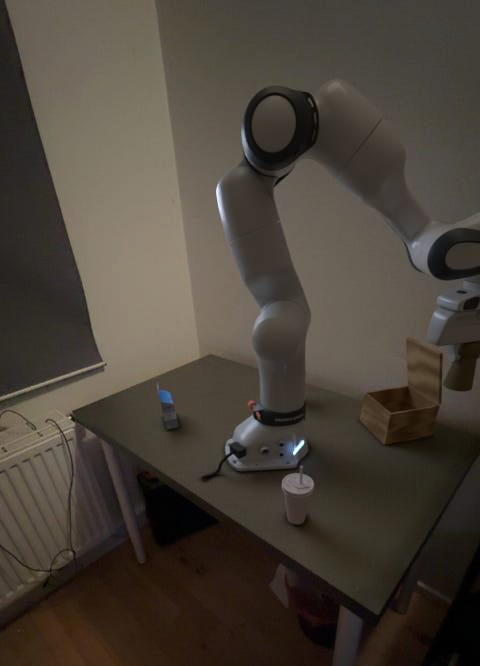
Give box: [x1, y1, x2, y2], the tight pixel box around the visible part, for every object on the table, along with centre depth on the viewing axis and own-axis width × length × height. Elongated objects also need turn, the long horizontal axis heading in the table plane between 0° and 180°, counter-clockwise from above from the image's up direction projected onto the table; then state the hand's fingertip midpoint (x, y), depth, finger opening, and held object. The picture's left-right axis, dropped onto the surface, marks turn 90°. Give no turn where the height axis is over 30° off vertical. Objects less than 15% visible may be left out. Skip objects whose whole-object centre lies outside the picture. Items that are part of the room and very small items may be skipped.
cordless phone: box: [156, 382, 179, 431], centre depth 107 cm, size 9×4×12 cm, turn 16°
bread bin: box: [359, 385, 441, 446], centre depth 98 cm, size 14×13×10 cm
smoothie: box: [281, 465, 315, 525], centre depth 70 cm, size 6×6×14 cm
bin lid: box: [405, 336, 444, 406], centre depth 92 cm, size 15×13×1 cm
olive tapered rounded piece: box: [442, 341, 480, 393], centre depth 79 cm, size 6×6×11 cm
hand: (465, 359), depth 78 cm, fingers closed on olive tapered rounded piece, 5 cm apart
